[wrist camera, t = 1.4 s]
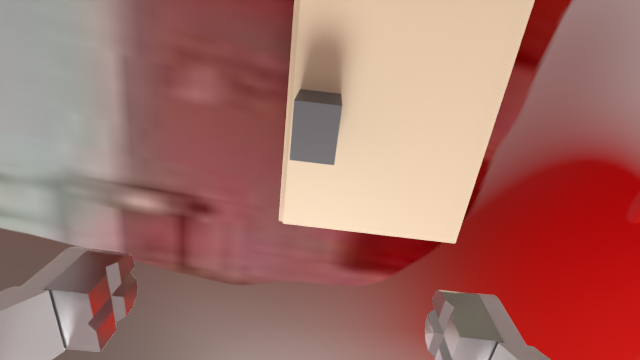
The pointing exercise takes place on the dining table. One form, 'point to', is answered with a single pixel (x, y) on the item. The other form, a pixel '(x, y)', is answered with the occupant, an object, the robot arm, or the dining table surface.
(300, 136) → the carton lid
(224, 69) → the dining table surface
